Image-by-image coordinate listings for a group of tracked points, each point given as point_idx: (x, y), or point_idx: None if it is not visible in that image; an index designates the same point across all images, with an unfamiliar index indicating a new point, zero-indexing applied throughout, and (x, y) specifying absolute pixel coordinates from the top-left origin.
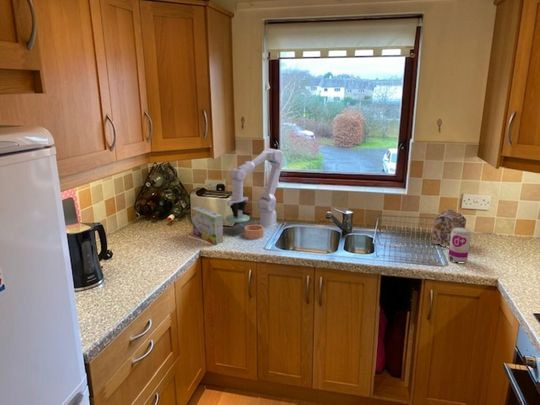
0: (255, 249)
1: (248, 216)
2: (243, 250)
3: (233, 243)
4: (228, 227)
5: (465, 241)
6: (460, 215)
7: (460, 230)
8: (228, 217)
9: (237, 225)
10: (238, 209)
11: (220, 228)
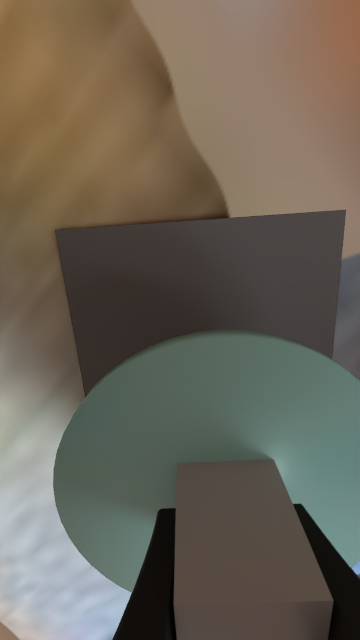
0: (67, 625)
1: (354, 552)
2: (8, 600)
3: (27, 509)
4: (225, 258)
5: None
6: None
7: None
8: (128, 414)
9: (327, 278)
10: (322, 624)
11: None
